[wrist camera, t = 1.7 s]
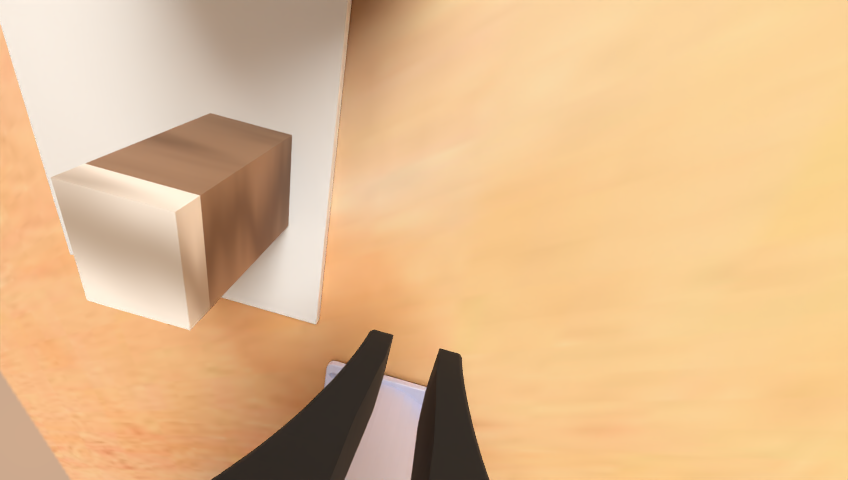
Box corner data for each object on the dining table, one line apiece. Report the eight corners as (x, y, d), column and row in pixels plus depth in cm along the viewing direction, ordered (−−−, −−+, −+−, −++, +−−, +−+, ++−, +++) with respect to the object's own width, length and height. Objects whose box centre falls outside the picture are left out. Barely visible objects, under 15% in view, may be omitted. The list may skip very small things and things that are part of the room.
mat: (319, 318, 26) (316, 324, 25) (77, 249, 26) (70, 254, 26) (353, -16, 16) (349, -16, 16) (-28, -113, 17) (-42, -116, 16)
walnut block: (288, 225, 22) (190, 330, 15) (216, 205, 22) (86, 300, 15) (292, 135, 19) (174, 211, 12) (210, 113, 19) (50, 177, 13)
